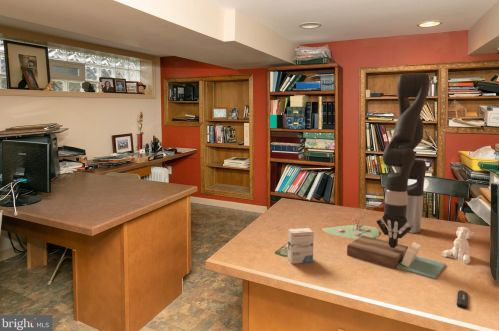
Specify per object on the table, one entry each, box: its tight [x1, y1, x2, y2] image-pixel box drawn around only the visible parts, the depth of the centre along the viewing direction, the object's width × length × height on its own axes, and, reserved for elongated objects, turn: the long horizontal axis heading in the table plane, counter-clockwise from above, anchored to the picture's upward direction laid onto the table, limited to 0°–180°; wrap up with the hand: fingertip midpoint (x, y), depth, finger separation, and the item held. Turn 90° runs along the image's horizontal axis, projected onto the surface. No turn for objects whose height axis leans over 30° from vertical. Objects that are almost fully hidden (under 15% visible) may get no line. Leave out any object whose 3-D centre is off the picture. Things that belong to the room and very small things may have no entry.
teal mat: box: [395, 255, 446, 280], centre depth 123 cm, size 14×13×1 cm
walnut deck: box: [346, 235, 409, 269], centre depth 132 cm, size 14×18×4 cm
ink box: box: [287, 227, 315, 265], centre depth 128 cm, size 8×5×12 cm, turn 100°
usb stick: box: [456, 290, 469, 310], centre depth 101 cm, size 10×3×2 cm, turn 147°
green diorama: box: [321, 216, 380, 240], centre depth 158 cm, size 25×21×9 cm
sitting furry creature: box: [441, 226, 475, 265], centre depth 130 cm, size 10×9×12 cm
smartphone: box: [274, 242, 288, 258], centre depth 139 cm, size 7×1×15 cm
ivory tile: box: [401, 241, 422, 267], centre depth 124 cm, size 9×6×2 cm
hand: (392, 247), depth 128 cm, fingers closed
